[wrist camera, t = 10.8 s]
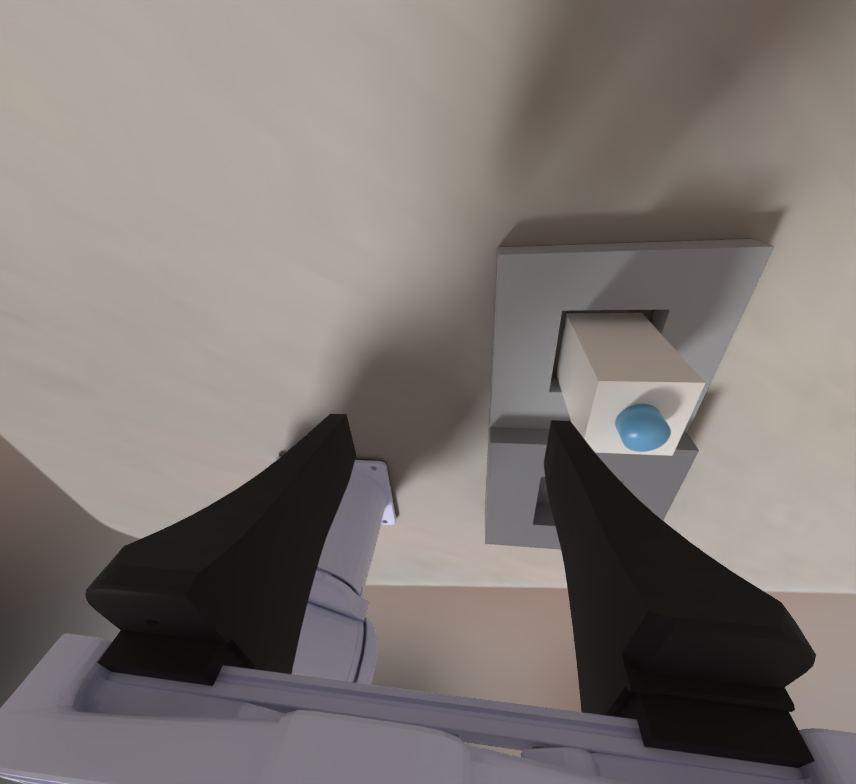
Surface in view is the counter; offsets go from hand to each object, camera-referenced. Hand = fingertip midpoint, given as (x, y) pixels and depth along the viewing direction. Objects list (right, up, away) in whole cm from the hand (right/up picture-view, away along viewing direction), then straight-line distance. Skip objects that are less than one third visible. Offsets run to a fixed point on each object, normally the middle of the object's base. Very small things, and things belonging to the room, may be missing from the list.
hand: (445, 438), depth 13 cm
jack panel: (+10, 0, +11) cm, 15 cm away
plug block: (+9, +4, +8) cm, 13 cm away
